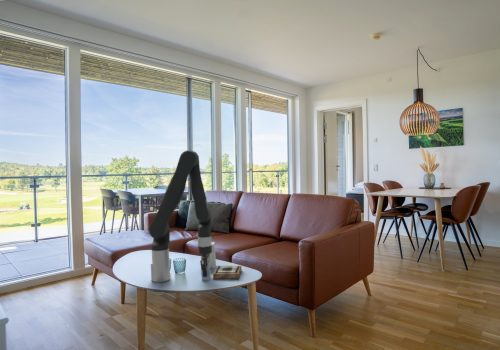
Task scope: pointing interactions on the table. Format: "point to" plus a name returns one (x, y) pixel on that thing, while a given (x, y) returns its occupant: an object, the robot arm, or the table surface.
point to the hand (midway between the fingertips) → (205, 275)
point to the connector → (207, 272)
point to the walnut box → (227, 272)
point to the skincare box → (213, 257)
